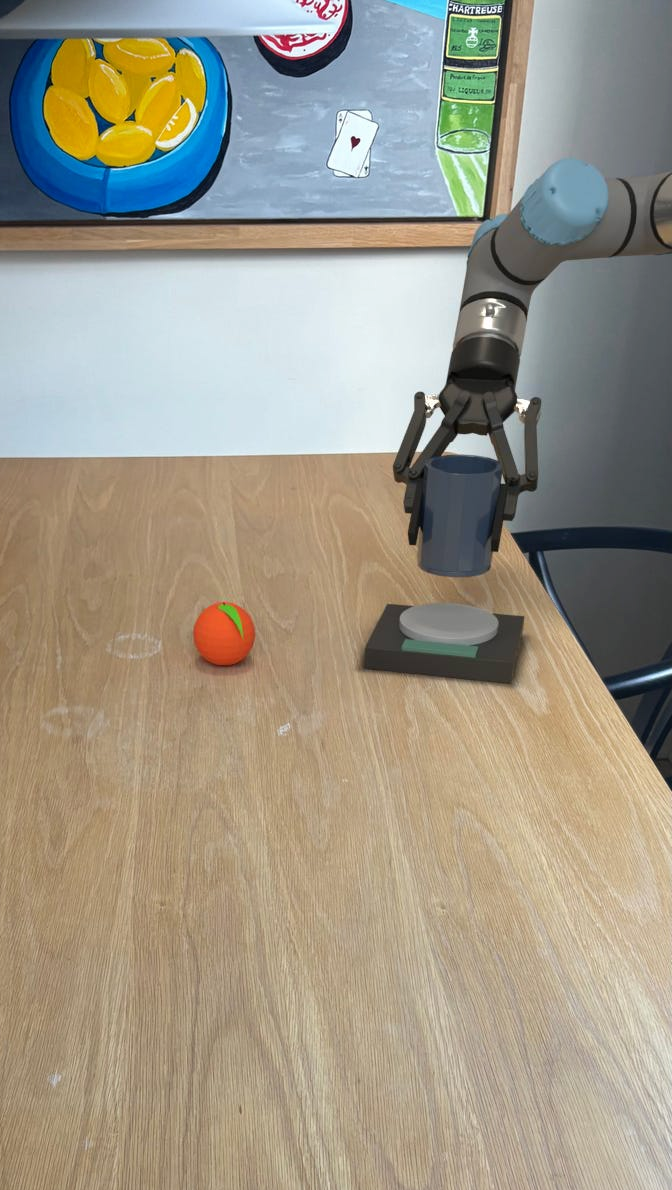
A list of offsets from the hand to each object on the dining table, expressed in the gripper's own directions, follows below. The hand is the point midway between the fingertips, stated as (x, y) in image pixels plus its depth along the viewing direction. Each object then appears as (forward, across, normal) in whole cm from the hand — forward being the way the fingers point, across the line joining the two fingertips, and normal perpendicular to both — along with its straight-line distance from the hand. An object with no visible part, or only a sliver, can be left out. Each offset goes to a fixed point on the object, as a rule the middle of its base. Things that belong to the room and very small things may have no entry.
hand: (452, 542), depth 131 cm
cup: (0, 0, +5) cm, 5 cm away
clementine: (+15, -23, +4) cm, 28 cm away
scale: (+8, 0, +11) cm, 14 cm away
